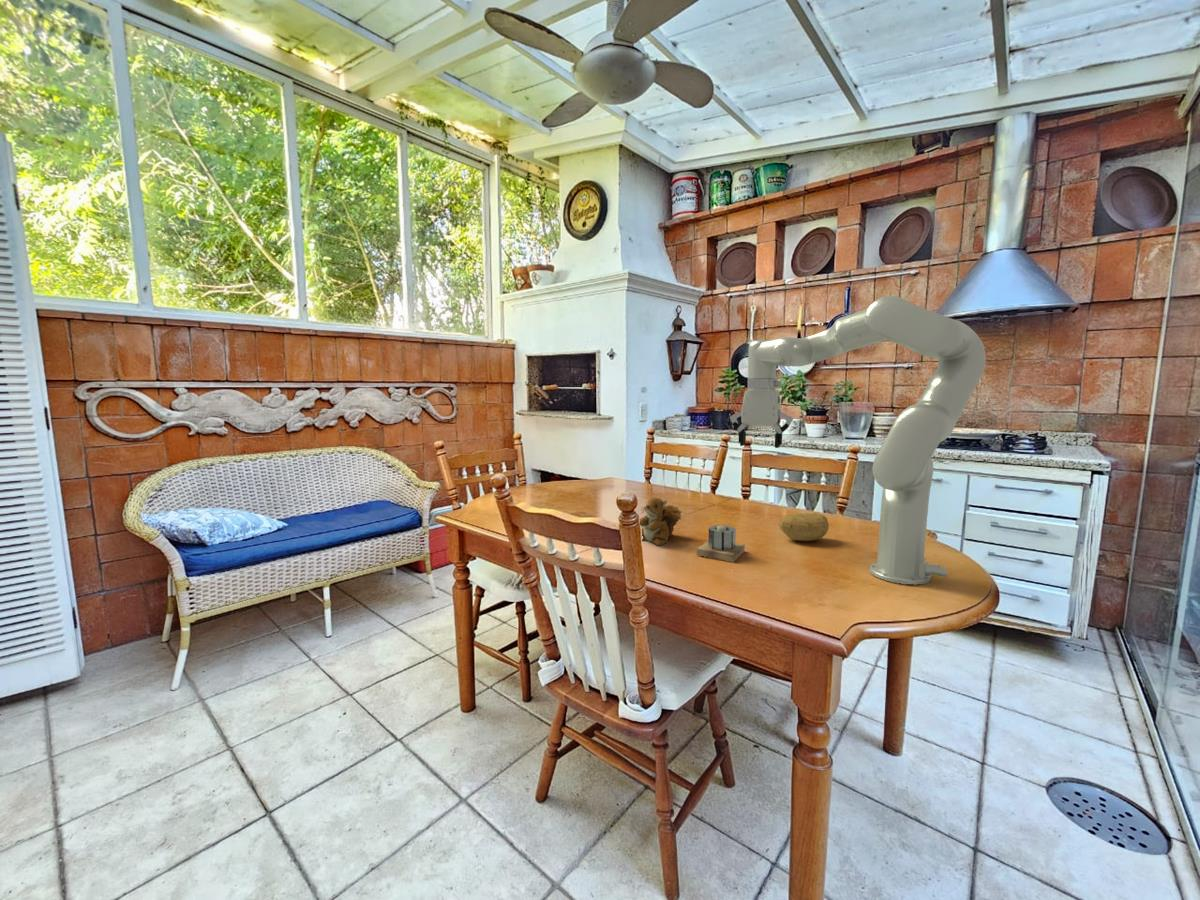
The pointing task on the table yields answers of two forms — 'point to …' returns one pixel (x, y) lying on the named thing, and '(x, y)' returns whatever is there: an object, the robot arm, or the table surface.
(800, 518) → the potato
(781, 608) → the table surface
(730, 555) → the shaft stand
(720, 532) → the hub
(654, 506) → the stuffed squirrel
